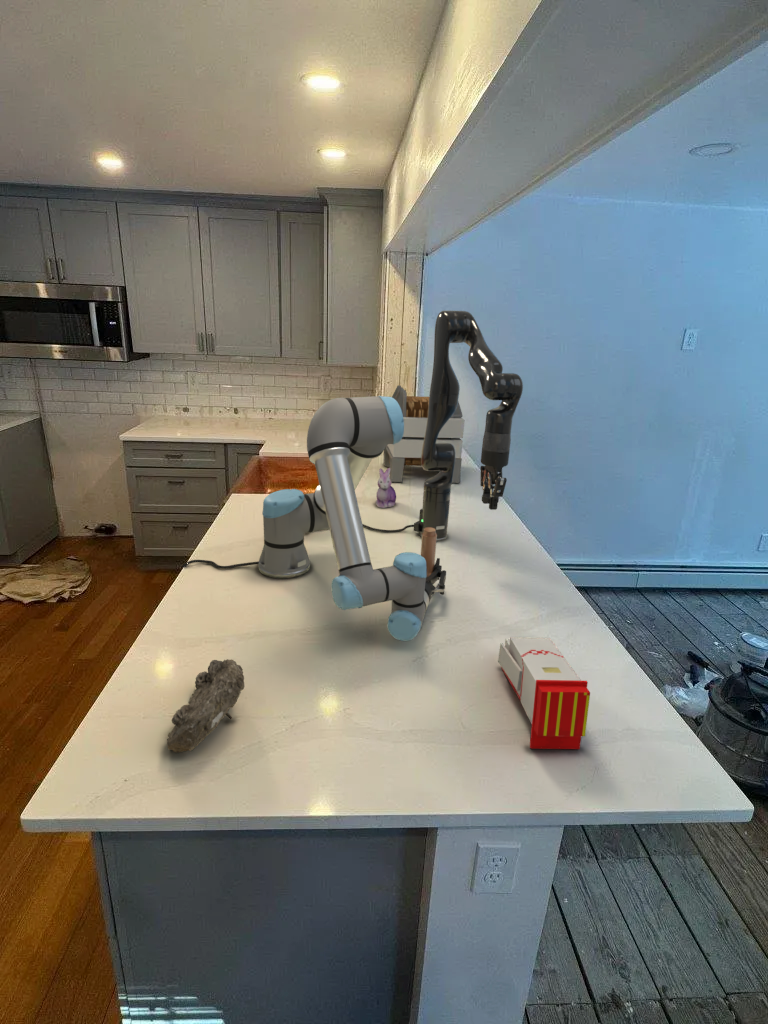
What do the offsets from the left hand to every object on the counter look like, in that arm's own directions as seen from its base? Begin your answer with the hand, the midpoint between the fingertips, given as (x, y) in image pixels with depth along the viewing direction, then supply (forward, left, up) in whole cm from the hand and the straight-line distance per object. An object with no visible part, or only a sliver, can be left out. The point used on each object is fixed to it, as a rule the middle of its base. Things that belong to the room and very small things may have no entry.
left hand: (429, 561), depth 164 cm
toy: (+30, -47, -6) cm, 56 cm away
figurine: (-28, +62, -6) cm, 68 cm away
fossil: (-30, -70, -6) cm, 77 cm away
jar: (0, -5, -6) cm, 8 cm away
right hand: (+15, +6, +17) cm, 23 cm away
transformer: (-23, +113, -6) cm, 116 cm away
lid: (+15, +7, +19) cm, 25 cm away
